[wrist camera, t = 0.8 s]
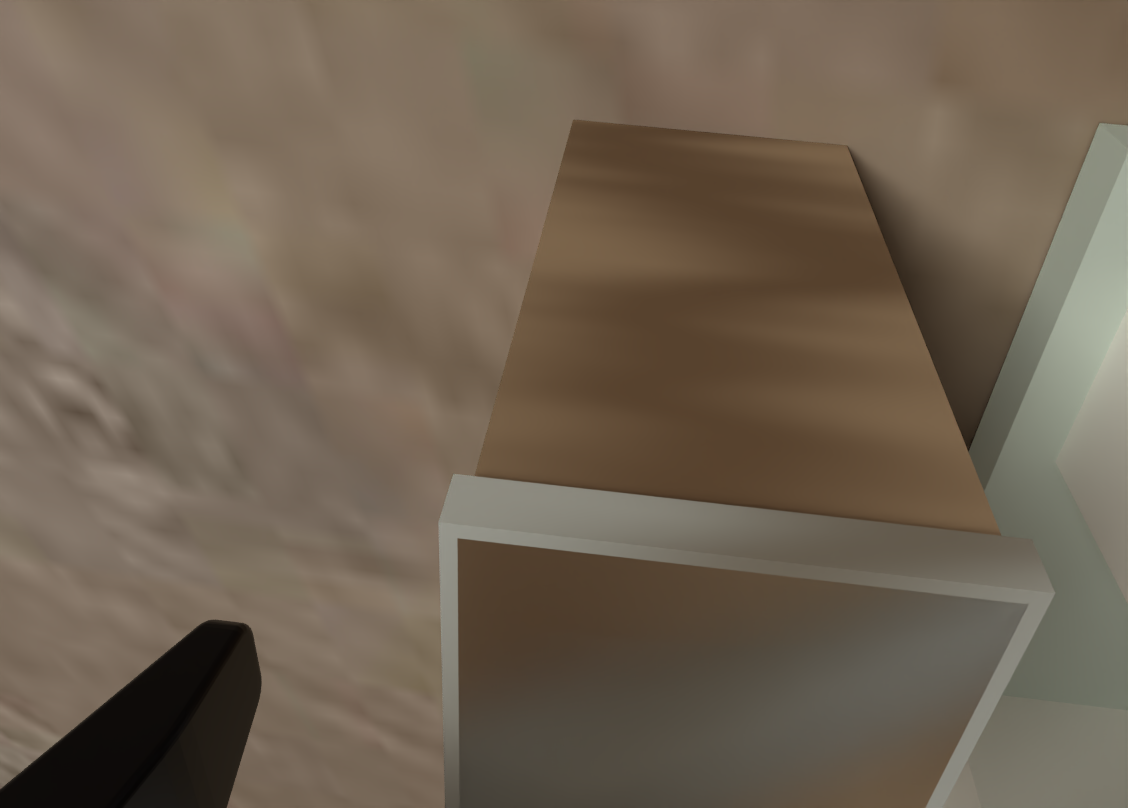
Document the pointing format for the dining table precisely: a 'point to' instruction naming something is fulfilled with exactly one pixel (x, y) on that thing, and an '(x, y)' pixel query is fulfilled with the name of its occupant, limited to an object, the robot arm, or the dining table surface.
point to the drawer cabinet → (1066, 511)
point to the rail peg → (720, 506)
